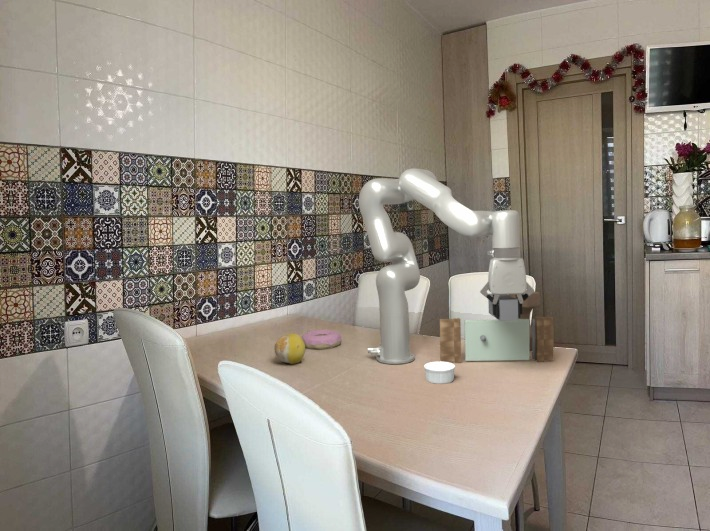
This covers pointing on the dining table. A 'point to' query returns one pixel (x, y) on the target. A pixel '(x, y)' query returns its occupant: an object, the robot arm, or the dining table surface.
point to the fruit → (290, 348)
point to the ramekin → (439, 372)
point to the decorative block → (529, 310)
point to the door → (498, 340)
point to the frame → (452, 339)
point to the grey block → (506, 308)
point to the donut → (321, 339)
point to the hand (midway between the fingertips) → (507, 316)
